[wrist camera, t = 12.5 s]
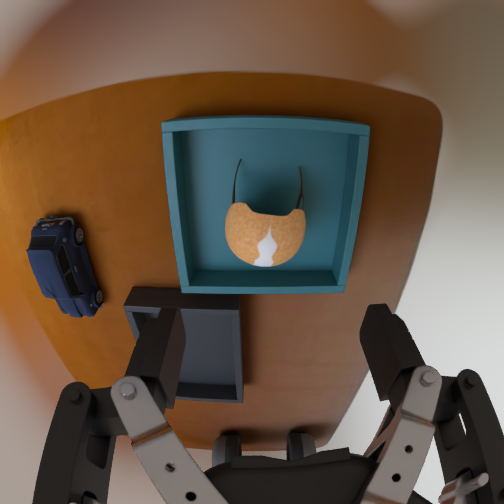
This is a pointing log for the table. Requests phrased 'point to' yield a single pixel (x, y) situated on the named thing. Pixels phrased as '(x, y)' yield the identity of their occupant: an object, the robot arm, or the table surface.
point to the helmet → (264, 233)
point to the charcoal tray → (199, 340)
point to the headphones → (231, 445)
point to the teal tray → (264, 197)
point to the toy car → (64, 266)
